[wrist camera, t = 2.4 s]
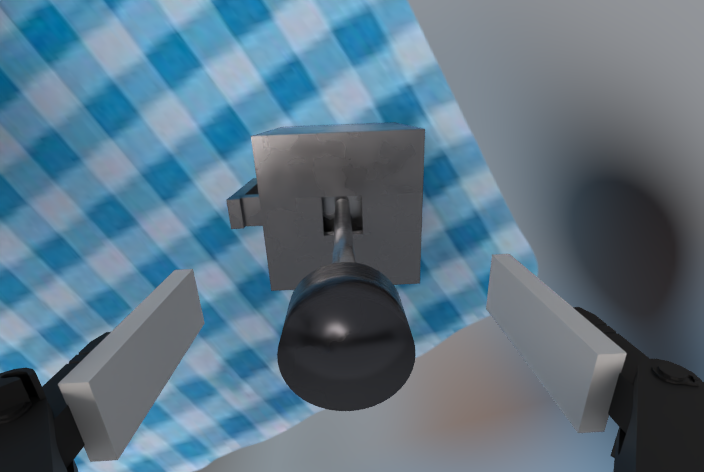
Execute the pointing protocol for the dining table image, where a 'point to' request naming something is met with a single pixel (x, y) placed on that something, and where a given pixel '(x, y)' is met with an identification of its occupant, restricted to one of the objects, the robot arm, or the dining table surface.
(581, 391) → the robot arm
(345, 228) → the plunger
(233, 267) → the dining table surface
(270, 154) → the steel cube with knob
